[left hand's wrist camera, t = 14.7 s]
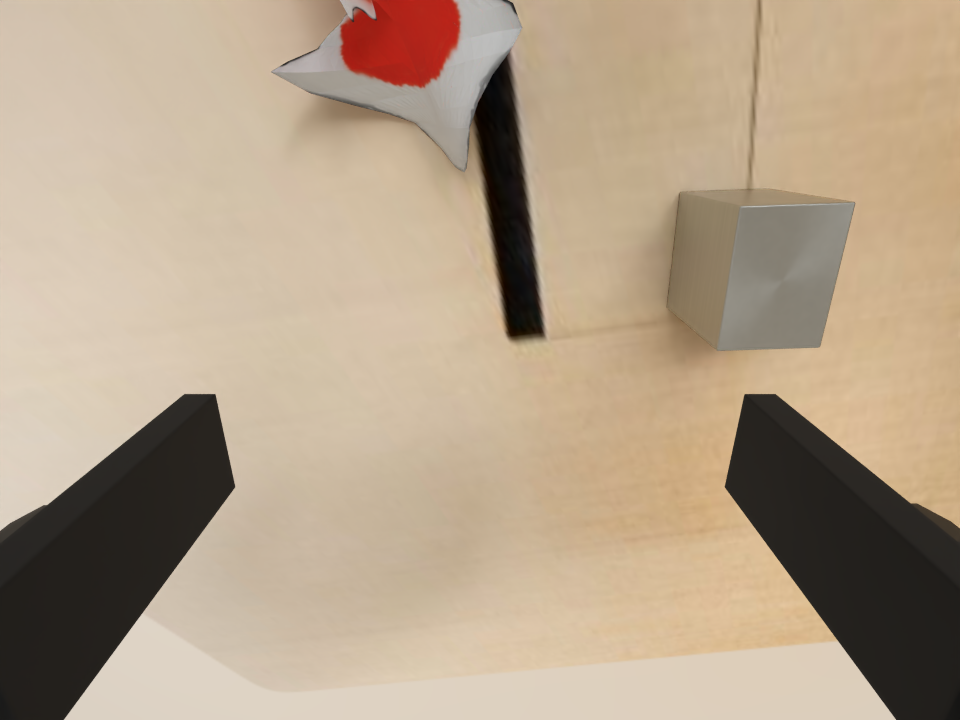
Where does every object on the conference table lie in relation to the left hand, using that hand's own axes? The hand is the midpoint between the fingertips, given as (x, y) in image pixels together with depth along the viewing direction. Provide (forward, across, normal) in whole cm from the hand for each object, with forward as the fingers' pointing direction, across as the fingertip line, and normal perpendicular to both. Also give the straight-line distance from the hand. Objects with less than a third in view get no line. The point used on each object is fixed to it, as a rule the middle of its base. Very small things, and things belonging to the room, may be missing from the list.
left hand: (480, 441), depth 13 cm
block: (+21, -15, -1) cm, 25 cm away
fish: (+20, +4, -13) cm, 25 cm away
